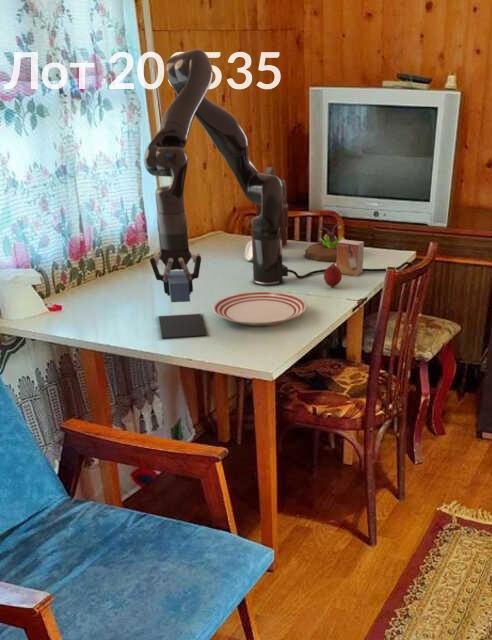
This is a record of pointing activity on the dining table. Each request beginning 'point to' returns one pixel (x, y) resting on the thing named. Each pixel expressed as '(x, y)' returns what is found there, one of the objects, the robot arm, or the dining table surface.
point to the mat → (181, 326)
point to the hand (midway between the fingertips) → (178, 294)
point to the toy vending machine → (284, 209)
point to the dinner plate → (260, 308)
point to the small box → (350, 257)
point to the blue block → (178, 287)
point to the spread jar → (250, 254)
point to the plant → (325, 247)
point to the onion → (332, 275)
